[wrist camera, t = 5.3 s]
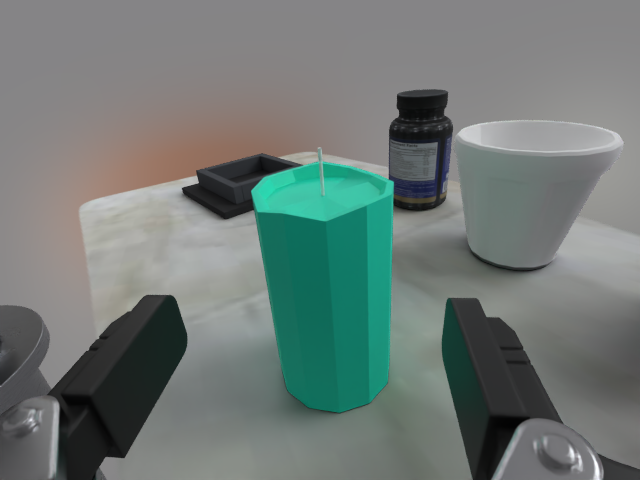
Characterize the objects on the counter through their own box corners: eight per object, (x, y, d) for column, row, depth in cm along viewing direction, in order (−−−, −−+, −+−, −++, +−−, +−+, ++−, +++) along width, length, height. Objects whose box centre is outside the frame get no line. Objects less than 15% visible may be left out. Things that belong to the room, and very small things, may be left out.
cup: (522, 305, 23) (556, 164, 19) (418, 243, 31) (425, 134, 27) (614, 260, 27) (660, 133, 23) (500, 215, 35) (518, 115, 31)
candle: (284, 331, 23) (254, 137, 17) (380, 324, 23) (381, 127, 17) (277, 417, 17) (230, 177, 12) (401, 408, 17) (414, 163, 12)
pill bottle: (415, 186, 43) (420, 87, 38) (458, 200, 39) (471, 89, 34) (376, 200, 40) (376, 94, 35) (417, 216, 36) (425, 98, 31)
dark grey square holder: (225, 219, 39) (220, 194, 37) (183, 193, 47) (177, 172, 46) (324, 184, 46) (322, 162, 45) (272, 167, 55) (270, 149, 53)
